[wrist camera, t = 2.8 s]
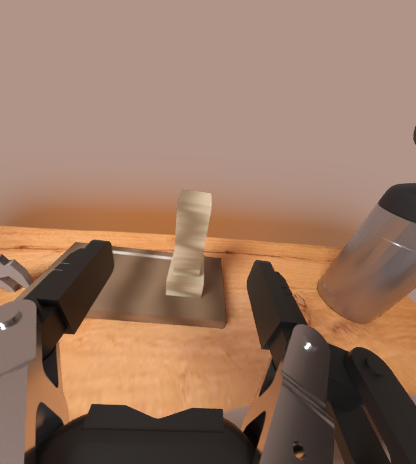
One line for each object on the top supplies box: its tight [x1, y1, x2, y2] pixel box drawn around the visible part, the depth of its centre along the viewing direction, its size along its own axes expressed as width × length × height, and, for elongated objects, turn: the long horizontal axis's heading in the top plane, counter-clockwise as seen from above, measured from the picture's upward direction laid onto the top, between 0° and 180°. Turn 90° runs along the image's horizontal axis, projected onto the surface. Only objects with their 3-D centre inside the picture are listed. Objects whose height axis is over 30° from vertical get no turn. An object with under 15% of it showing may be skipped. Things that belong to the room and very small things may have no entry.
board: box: [14, 242, 227, 328], centre depth 27 cm, size 26×12×2 cm, turn 90°
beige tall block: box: [166, 189, 212, 298], centre depth 24 cm, size 5×7×14 cm
